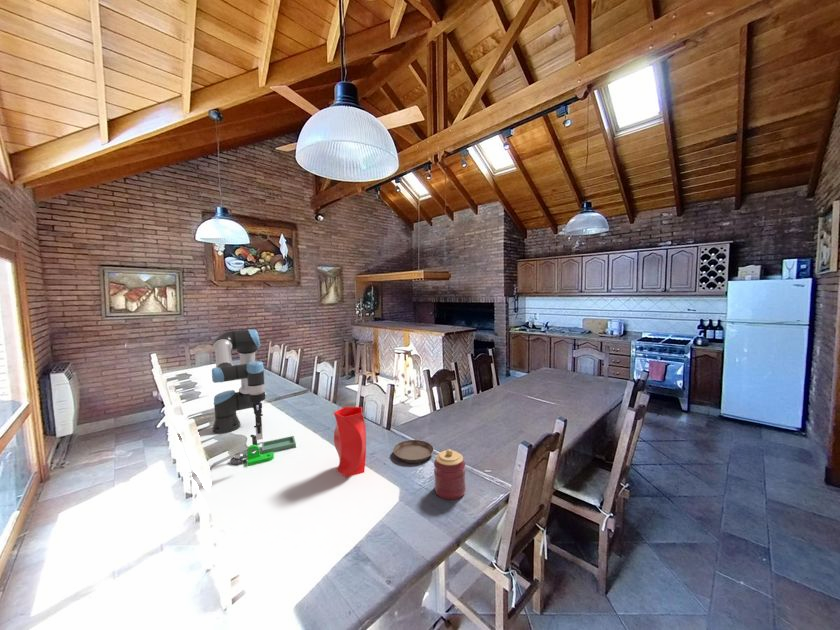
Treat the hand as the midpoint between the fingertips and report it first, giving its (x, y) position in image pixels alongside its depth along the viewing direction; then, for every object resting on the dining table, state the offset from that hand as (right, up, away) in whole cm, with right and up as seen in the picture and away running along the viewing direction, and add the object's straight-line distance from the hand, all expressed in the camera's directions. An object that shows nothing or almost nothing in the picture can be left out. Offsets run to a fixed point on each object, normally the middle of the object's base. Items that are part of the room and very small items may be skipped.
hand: (259, 434), depth 163 cm
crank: (-9, -12, +5) cm, 16 cm away
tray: (+3, -13, +16) cm, 21 cm away
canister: (+94, -13, -28) cm, 98 cm away
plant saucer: (+78, -12, +3) cm, 79 cm away
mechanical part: (0, -14, +2) cm, 14 cm away
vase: (+48, -13, -9) cm, 51 cm away
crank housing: (-11, -14, +2) cm, 18 cm away
